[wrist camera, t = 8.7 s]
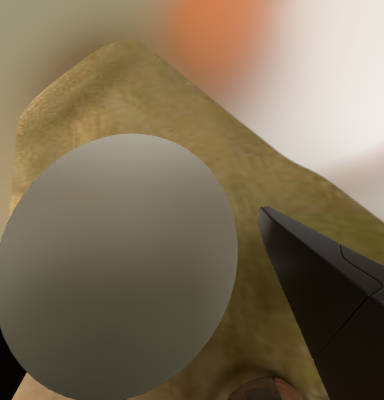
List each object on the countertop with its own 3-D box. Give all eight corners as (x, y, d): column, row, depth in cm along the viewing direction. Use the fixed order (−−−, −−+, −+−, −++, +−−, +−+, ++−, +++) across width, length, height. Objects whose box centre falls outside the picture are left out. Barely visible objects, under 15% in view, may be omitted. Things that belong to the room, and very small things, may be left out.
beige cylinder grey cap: (212, 266, 15) (246, 424, 2) (168, 264, 16) (-49, 383, 2) (212, 221, 17) (232, 129, 3) (171, 221, 17) (35, 137, 4)
